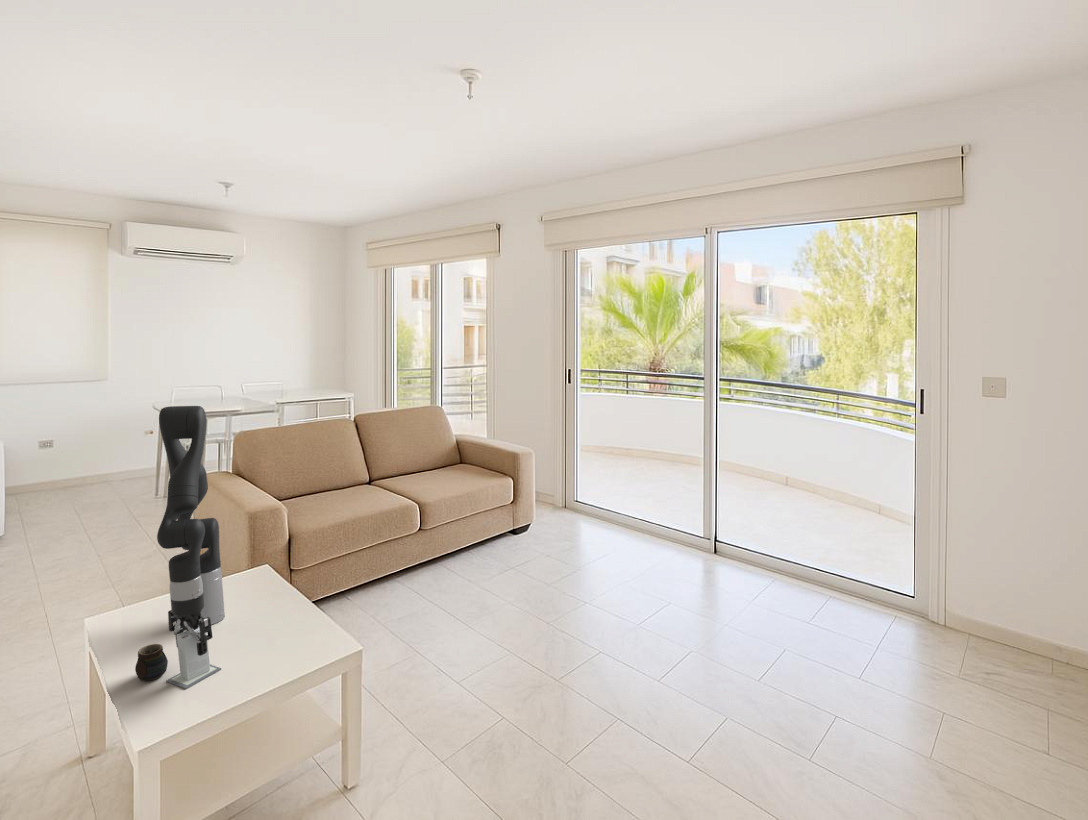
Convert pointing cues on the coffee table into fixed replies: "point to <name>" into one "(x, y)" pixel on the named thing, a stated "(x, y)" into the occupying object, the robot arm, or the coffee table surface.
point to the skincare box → (191, 656)
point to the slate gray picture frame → (185, 684)
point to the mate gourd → (151, 662)
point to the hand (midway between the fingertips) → (192, 650)
